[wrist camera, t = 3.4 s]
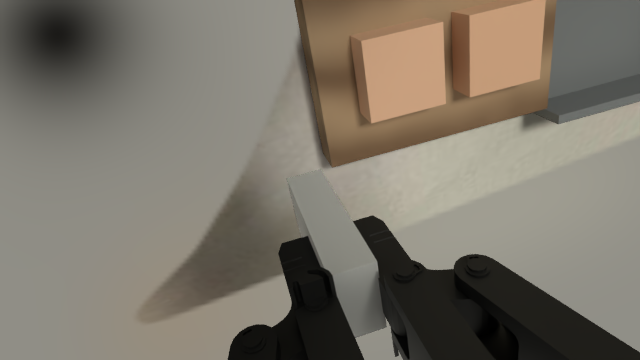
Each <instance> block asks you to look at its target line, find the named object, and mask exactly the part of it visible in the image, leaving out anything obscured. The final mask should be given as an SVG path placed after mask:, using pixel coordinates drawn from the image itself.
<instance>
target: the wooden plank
mask: <svg viewBox="0 0 640 360" xmlns="http://www.w3.org/2000/svg"><path fill="white" fill-rule="evenodd" d="M495 1H500V0H295V1H294V2H295V7H296V12H297V17H298V23H299V28H300V33H301V39H302V44H303V49H304V54H305V60H306V65H307V70H308V76H309V81H310V86H311V91H312V97H313V102H314V107H315V113H316V118H317V123H318V128H319V134H320V139H321V144H322V150H323V154H324V155H325V157H326V159H327V160H328V162H329V163H330V165H331V166H332V167H336V166H340V165H343V164H347V163H350V162H354V161H358V160H361V159H365V158H369V157H372V156H376V155H380V154H383V153H387V152H390V151H394V150H398V149H401V148H405V147H409V146H412V145H416V144H420V143H423V142H427V141H430V140H434V139H438V138H441V137H445V136H449V135H452V134H456V133H459V132H463V131H467V130H470V129H474V128H478V127H481V126H485V125H489V124H492V123H496V122H499V121H503V120H507V119H510V118H514V117H518V116H521V115H525V114H529V113H532V112H536V111H539V110H543V109H547V106H548V95H549V83H550V71H551V60H552V48H553V37H554V25H555V14H556V2H557V0H546V3H545V16H544V30H543V43H542V56H541V70H540V79H538V80H534V81H530V82H527V83H523V84H519V85H515V86H511V87H508V88H504V89H500V90H496V91H492V92H489V93H485V94H481V95H477V96H474V97H468V96H466V95H464V94H462V93H460V92H458V91H456V90H454V89H453V57H452V16H451V12H453V11H457V10H461V9H465V8H470V7H474V6H478V5H483V4H487V3H491V2H495ZM423 18H430V19H434V20H439V21H443V30H444V60H445V90H446V104H443V105H440V106H436V107H432V108H428V109H424V110H421V111H417V112H413V113H409V114H405V115H402V116H398V117H394V118H390V119H387V120H383V121H379V122H375V123H370V122H369V121H368V120H367V119H366V118H365V117H364V116H363V115H362V114H361V113H360V106H359V99H358V91H357V84H356V76H355V69H354V62H353V54H352V47H351V40H350V35H354V34H359V33H363V32H367V31H371V30H376V29H380V28H384V27H389V26H393V25H397V24H401V23H406V22H410V21H414V20H418V19H423Z"/></svg>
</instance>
